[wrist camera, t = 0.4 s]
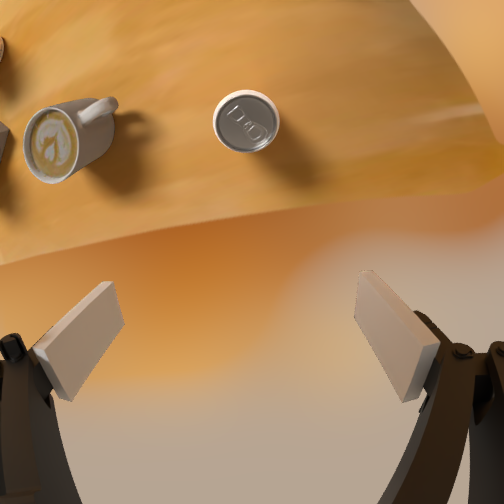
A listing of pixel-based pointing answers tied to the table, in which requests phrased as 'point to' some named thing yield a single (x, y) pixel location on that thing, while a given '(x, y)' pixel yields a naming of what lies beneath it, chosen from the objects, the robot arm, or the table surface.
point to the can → (246, 121)
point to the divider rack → (3, 137)
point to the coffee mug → (68, 137)
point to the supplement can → (1, 48)
